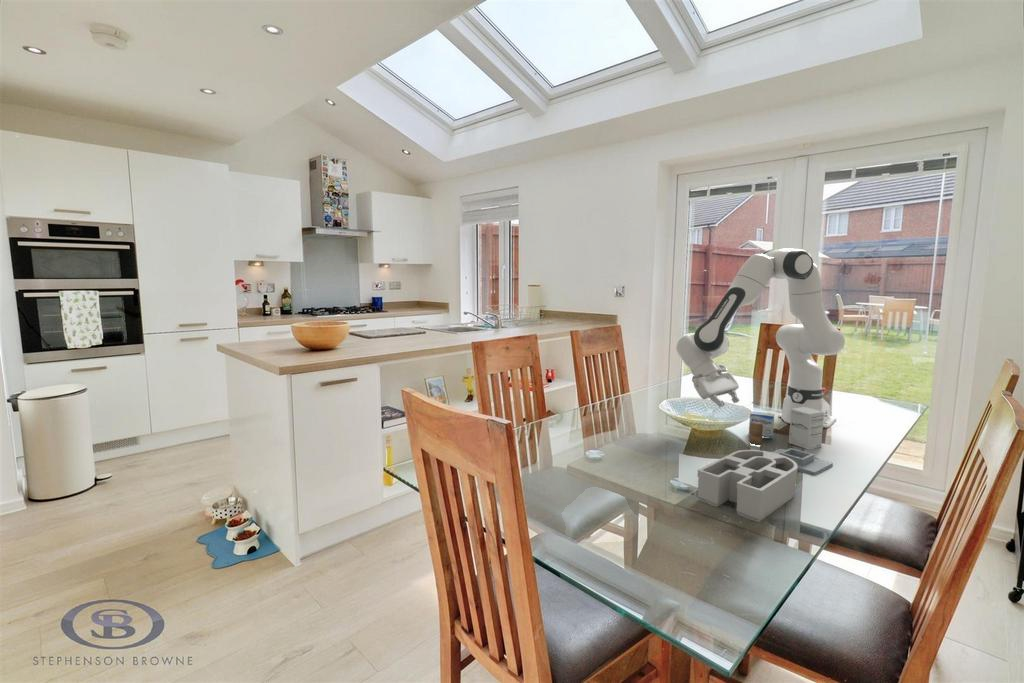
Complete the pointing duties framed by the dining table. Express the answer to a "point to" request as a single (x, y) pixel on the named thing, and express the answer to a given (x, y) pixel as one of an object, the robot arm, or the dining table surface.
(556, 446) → the dining table surface
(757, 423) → the knob
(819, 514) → the dining table surface
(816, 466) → the hub plate
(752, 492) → the grey compartment organizer
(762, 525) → the dining table surface
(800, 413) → the supplement box
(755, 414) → the medicine box
